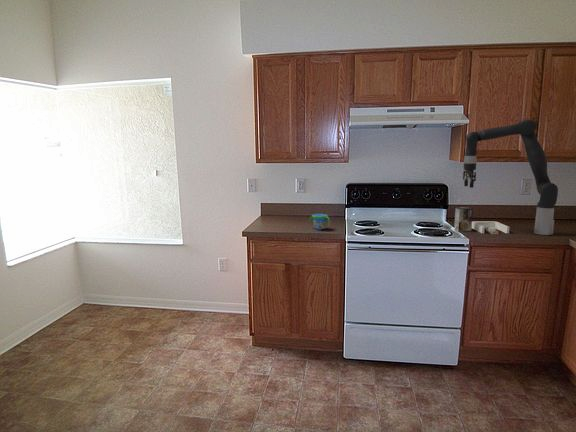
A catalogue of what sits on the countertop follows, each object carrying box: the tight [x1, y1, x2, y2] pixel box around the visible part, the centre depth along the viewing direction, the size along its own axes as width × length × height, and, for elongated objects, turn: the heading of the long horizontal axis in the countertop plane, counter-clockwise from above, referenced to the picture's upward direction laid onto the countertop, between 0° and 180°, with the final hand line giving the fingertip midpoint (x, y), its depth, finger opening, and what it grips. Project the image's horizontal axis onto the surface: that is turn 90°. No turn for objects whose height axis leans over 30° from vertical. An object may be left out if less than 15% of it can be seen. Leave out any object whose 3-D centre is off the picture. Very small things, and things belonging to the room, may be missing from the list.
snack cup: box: [309, 213, 331, 231], centre depth 264 cm, size 16×10×10 cm
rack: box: [472, 220, 510, 234], centre depth 250 cm, size 17×18×5 cm
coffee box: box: [453, 206, 474, 233], centre depth 250 cm, size 9×6×16 cm
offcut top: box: [487, 226, 497, 232], centre depth 244 cm, size 8×4×2 cm, turn 145°
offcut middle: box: [485, 228, 500, 235], centre depth 244 cm, size 10×4×2 cm, turn 172°
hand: (468, 186), depth 252 cm, fingers open, 8 cm apart
